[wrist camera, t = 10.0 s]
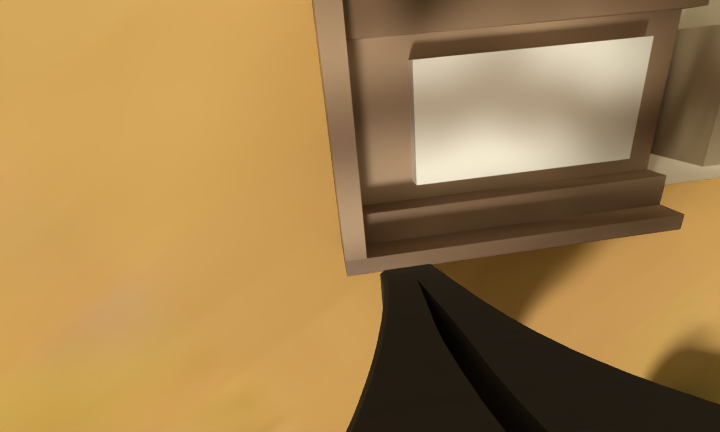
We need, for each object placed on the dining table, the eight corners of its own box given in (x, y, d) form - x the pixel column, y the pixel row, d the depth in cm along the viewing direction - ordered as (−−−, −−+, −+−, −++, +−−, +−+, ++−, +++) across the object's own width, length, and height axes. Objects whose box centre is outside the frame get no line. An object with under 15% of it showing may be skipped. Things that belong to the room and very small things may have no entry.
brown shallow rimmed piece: (629, 206, 21) (680, 229, 18) (342, 245, 20) (347, 276, 17) (683, -50, 16) (764, -75, 14) (309, -20, 15) (308, -40, 12)
